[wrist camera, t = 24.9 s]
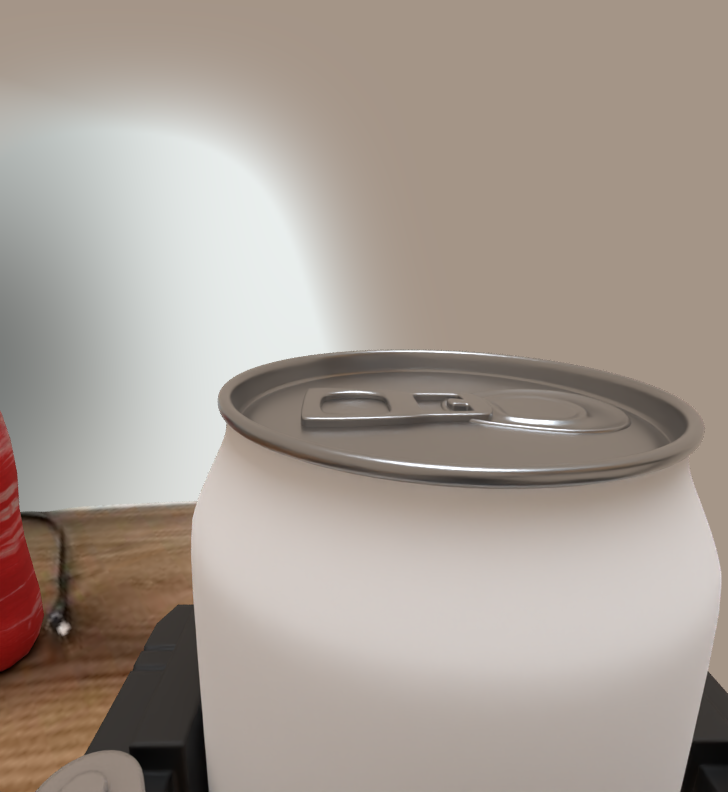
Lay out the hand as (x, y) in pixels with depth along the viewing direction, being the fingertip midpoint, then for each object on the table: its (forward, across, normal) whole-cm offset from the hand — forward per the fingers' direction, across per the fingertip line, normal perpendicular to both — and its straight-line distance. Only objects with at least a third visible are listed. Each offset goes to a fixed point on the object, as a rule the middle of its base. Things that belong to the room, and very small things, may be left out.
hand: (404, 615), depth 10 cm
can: (-2, 0, +7) cm, 7 cm away
